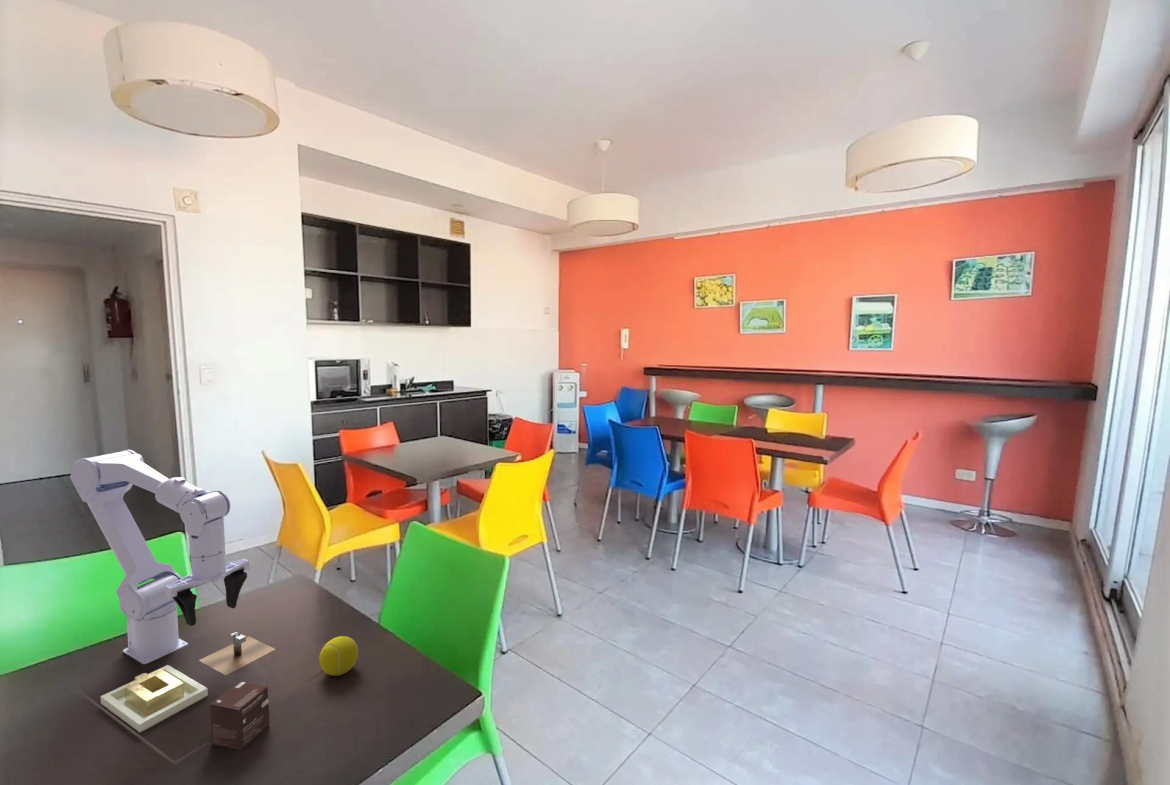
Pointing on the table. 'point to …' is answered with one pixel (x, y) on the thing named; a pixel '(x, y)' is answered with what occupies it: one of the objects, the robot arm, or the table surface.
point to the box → (239, 715)
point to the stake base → (229, 663)
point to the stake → (237, 642)
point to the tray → (142, 722)
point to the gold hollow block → (145, 684)
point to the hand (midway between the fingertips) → (211, 615)
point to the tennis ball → (338, 655)
